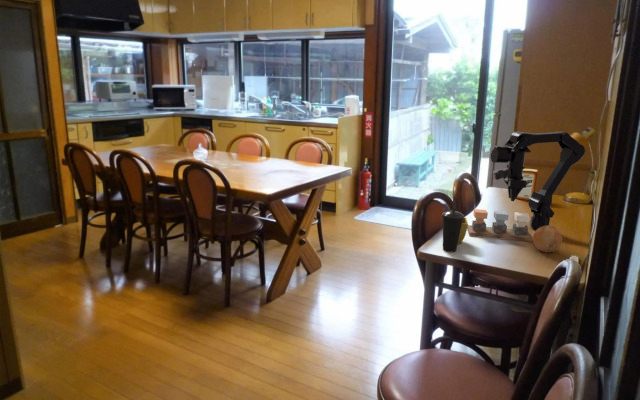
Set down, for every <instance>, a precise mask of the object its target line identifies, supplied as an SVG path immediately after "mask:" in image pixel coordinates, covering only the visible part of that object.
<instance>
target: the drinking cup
mask: <svg viewBox="0 0 640 400" xmlns="http://www.w3.org/2000/svg"><path fill="white" fill-rule="evenodd" d="M456 200H457V197H456V196H455V197H453V203H452V204H453V205H452V210H447V211H444V212H442V214H441V215H442V251H444V252H448V253H455V252H457V249H458V245H459V244H458V240H459V235H460V230H461V225H462V221H463V218H464V217H465V214H463V213H462V212H460V211H457V210H456V209H455V208H456Z"/></svg>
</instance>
